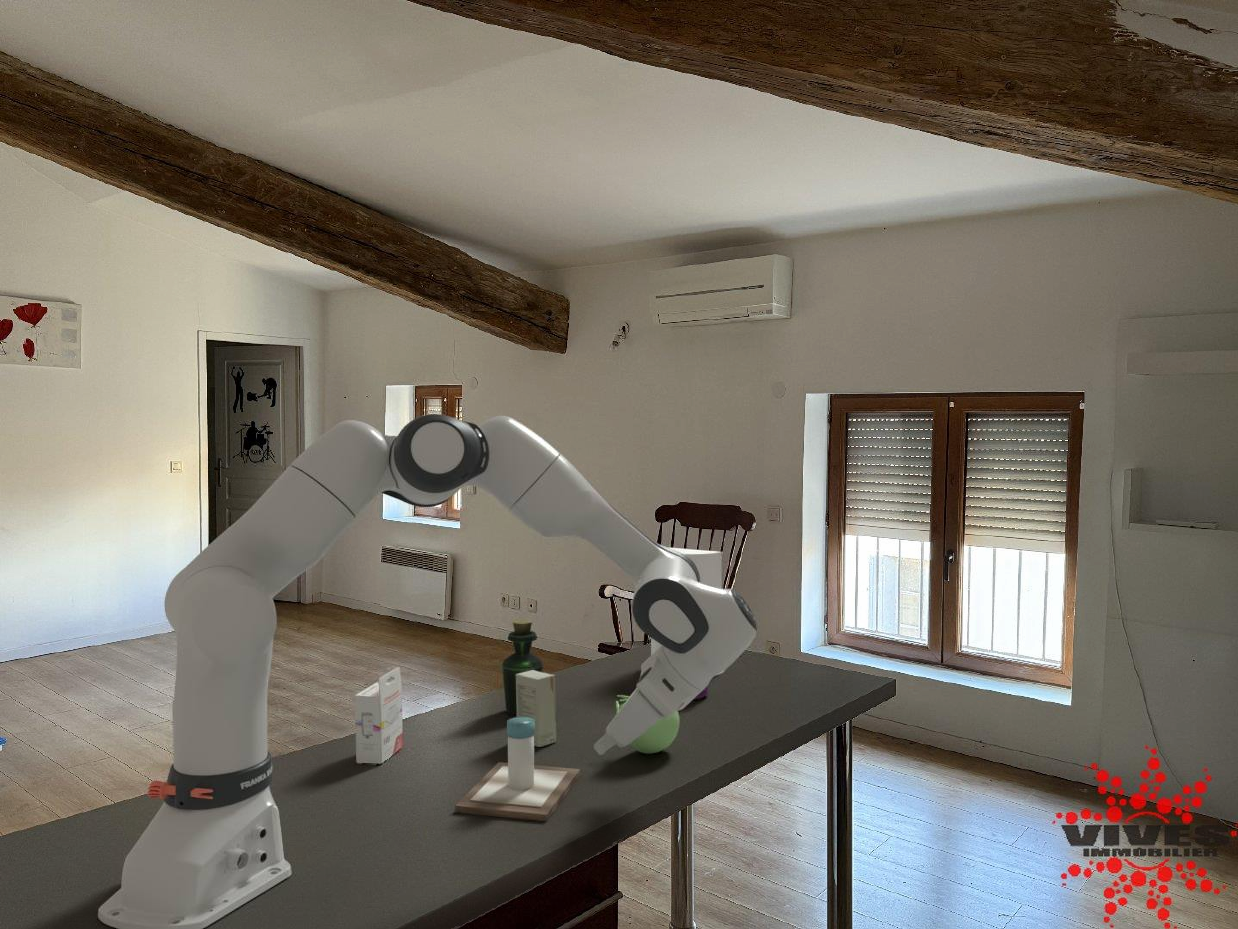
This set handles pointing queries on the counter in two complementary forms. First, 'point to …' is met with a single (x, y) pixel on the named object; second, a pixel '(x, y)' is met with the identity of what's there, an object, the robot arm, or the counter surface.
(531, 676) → the skincare box
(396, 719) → the ink cartridge box
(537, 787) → the writing board
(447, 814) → the counter surface
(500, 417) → the robot arm
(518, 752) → the white bottle teal cap
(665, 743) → the green eggplant
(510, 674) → the potion bottle
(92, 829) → the counter surface
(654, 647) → the cylinder
